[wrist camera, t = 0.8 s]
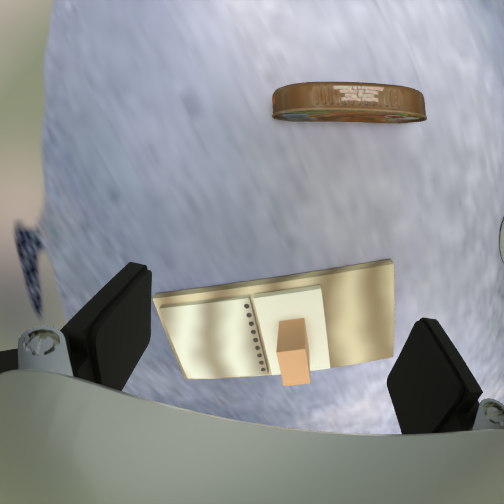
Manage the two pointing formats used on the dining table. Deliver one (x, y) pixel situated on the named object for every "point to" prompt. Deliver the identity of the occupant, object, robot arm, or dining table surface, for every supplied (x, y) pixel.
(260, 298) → the stub
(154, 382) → the dining table surface
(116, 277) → the robot arm
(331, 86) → the tin
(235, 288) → the ticket pad
